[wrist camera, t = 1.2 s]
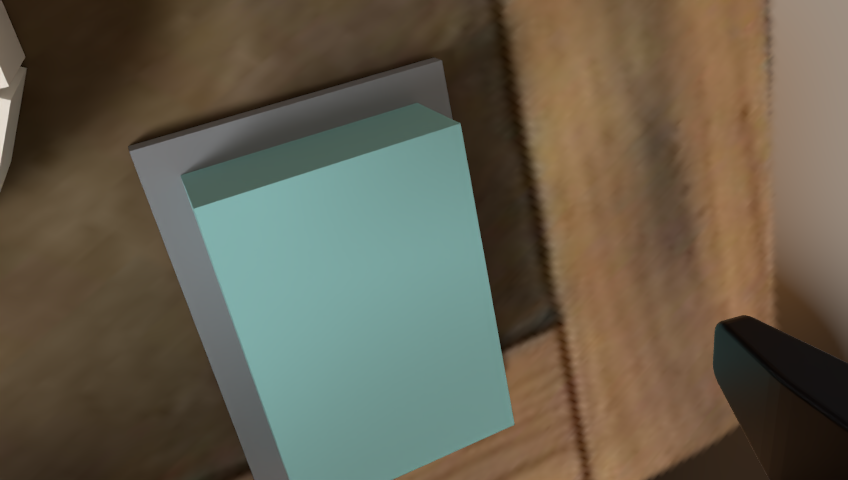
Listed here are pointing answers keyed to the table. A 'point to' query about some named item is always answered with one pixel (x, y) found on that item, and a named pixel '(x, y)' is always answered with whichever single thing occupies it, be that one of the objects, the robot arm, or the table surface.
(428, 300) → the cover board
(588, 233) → the table surface
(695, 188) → the table surface
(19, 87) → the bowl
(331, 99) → the mat
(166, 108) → the table surface
